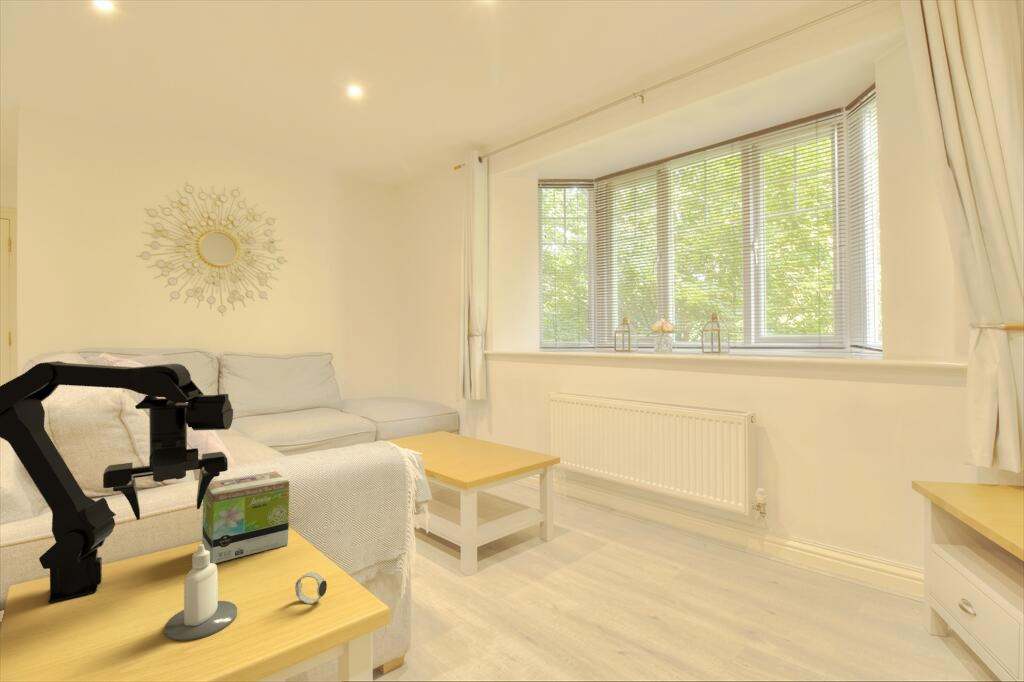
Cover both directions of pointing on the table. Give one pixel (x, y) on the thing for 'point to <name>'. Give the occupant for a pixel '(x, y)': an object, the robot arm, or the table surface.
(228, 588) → the table surface
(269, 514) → the tea box
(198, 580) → the eye dropper bottle
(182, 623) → the charcoal coaster
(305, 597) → the wristwatch
